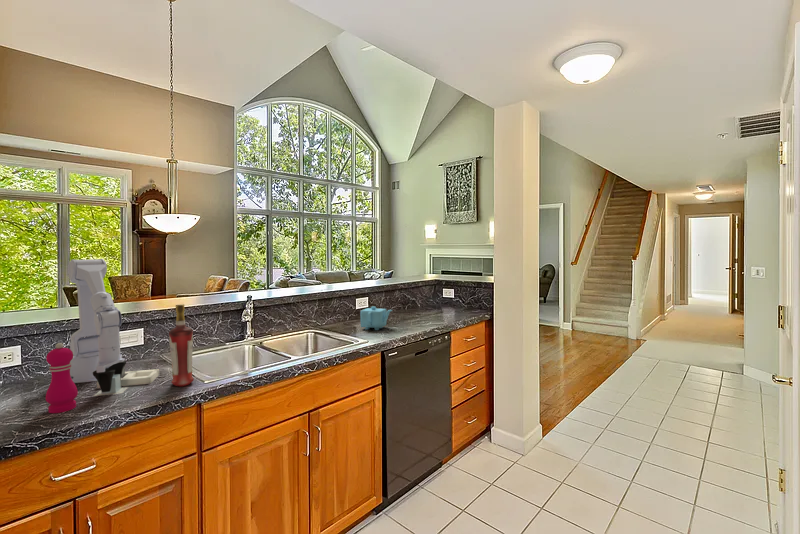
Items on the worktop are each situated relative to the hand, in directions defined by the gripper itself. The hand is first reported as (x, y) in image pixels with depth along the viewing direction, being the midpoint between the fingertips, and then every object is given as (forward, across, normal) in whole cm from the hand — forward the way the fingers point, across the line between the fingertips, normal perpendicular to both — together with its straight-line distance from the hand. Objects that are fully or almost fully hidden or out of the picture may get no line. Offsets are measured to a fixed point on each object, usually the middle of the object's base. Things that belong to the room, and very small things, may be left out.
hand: (111, 387), depth 129 cm
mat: (+2, 0, 0) cm, 2 cm away
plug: (+1, 0, 0) cm, 1 cm away
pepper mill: (+2, -12, +8) cm, 15 cm away
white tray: (+2, +10, -2) cm, 10 cm away
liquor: (+2, +1, -21) cm, 21 cm away
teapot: (+2, +71, -108) cm, 129 cm away
